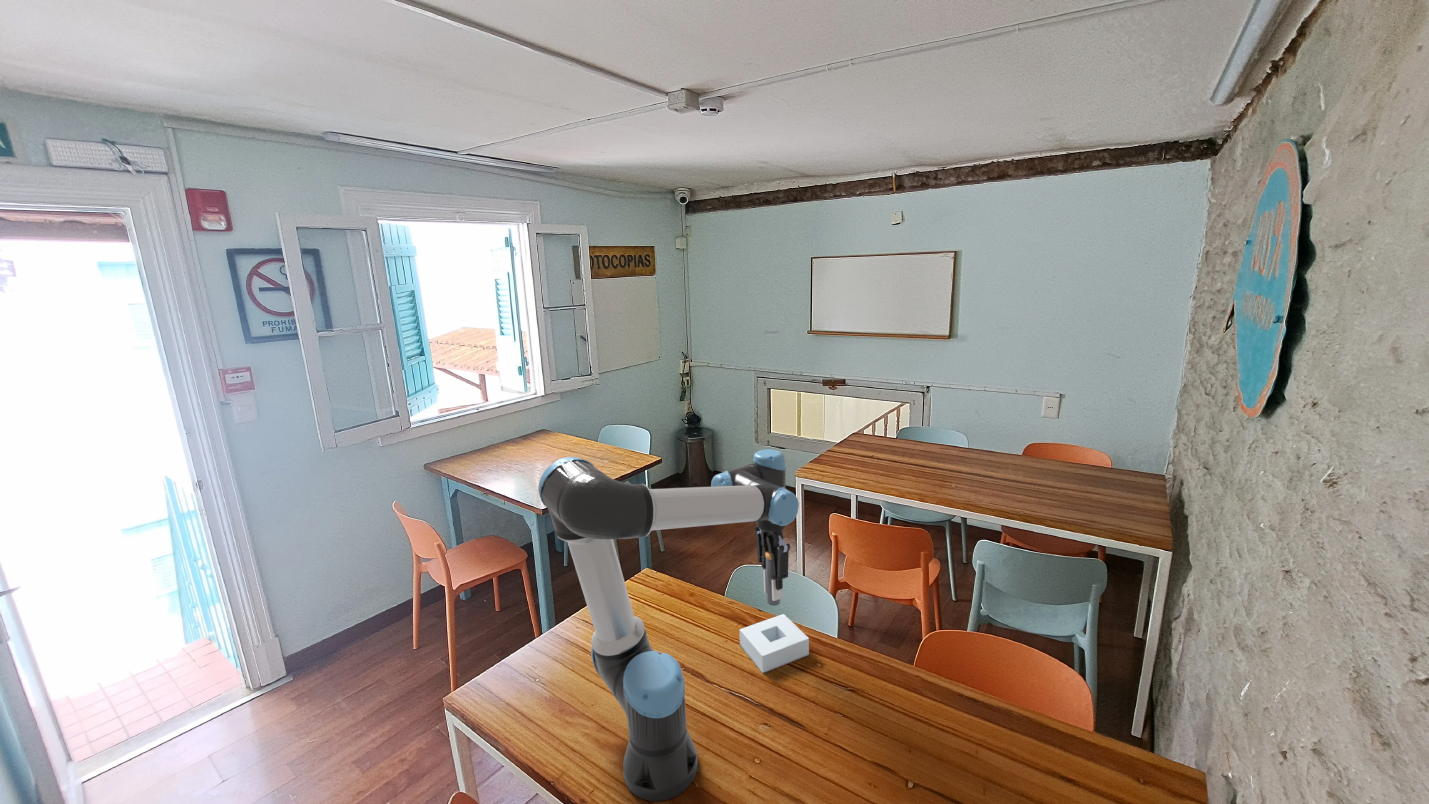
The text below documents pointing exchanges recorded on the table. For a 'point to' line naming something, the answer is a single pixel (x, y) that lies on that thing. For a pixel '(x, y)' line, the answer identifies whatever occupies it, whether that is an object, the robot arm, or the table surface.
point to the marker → (769, 579)
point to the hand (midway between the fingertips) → (773, 594)
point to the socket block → (774, 643)
